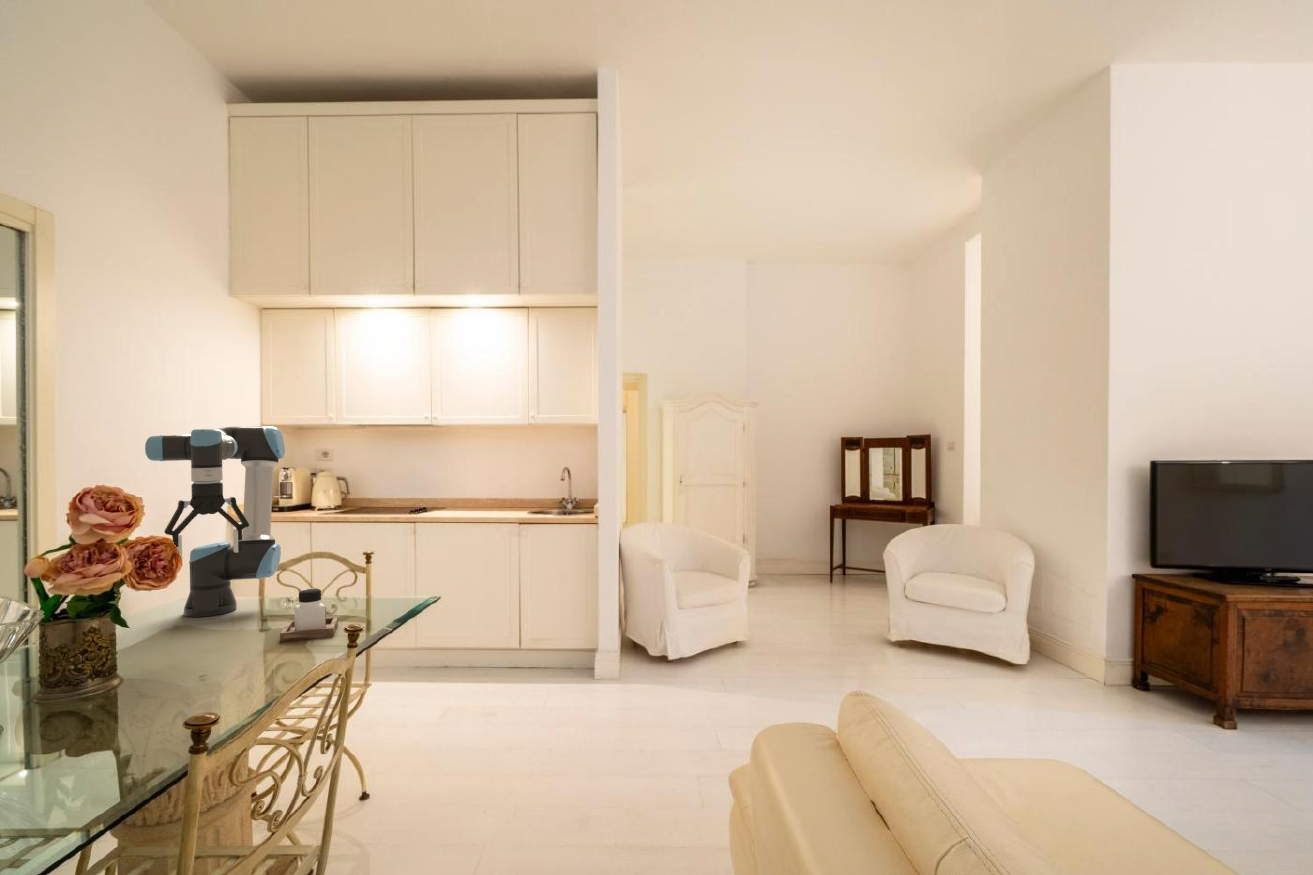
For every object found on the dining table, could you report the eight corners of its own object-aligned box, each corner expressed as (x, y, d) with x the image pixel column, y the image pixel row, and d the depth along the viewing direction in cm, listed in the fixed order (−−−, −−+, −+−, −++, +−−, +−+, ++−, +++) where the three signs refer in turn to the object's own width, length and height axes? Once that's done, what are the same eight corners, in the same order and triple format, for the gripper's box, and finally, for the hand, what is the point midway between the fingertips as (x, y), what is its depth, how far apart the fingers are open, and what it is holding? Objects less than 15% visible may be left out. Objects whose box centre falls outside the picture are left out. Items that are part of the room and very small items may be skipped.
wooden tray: (288, 629, 204) (288, 621, 204) (338, 624, 209) (338, 616, 209) (280, 642, 191) (279, 633, 191) (333, 636, 196) (333, 628, 196)
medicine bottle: (326, 629, 200) (325, 589, 200) (300, 633, 195) (299, 593, 195) (319, 624, 205) (319, 585, 205) (294, 628, 200) (294, 589, 200)
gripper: (154, 486, 179) (156, 563, 180) (259, 480, 196) (260, 551, 197) (151, 484, 185) (153, 559, 185) (253, 478, 202) (255, 547, 202)
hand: (208, 555), depth 191 cm, fingers open, 13 cm apart
